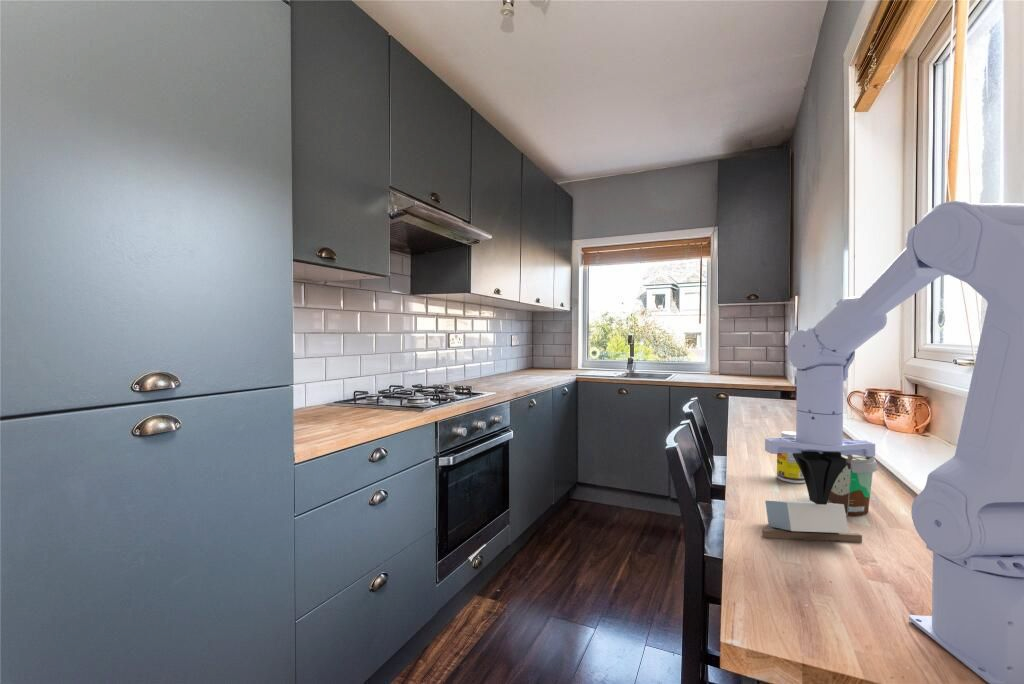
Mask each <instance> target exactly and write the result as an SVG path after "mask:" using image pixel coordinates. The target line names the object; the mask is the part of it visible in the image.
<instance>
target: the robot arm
mask: <svg viewBox="0 0 1024 684" xmlns="http://www.w3.org/2000/svg"><path fill="white" fill-rule="evenodd" d="M943 276H951V277H953V278H955V279H958V280H959V281H962V282H964V283H966V284H968V286H970V287H971V288H972V289H973V290H974V291H975V292H976V293H978V294H979V295H980V296H981V297H982V298H983V299H985V301H986V302H987V306H986V310H985V314H984V315H985V316H984V319H983V325H982V329H981V332H980V333H981V334H980V339H979V343H978V346H977V351H976V352H977V353H976V355H975V356H976V357H975V361H974V366H973V370H972V375H971V379H970V384H969V388H968V393H967V397H966V402H965V407H964V412H963V415H962V416H963V417H962V421H961V424H960V425H961V426H960V430H959V435H958V439H957V444H956V449H955V452H954V453H955V454H954V455H953V456H952V457H951V458H950V459H949V460H947V461H945V462H944V463H942V464H940V465H939V466H938V467H936V468H935V469H933V470H932V471H930V472H929V473H928V474H927V477H926V483H925V486H924V488H923V489H922V490H921V491H920V493H919V494H917V495H916V497H914V500H913V501H912V505H911V512H910V513H911V519H912V523H913V527H914V528H915V530H916V532H917V535H918V536H919V537H920V538H921V540H922V541H923V542H924V543H925V545H926V546H925V548H926V549H927V550H929V551H931V552H932V581H931V582H932V583H931V584H932V586H931V588H932V592H931V593H932V594H931V595H932V596H931V615H920V614H910V615H908V620H909V621H910V622H911V623H913V624H914V625H915V626H916V627H918V628H919V629H920V630H921V631H922V632H924V633H925V634H926V635H927V636H929V637H930V638H931V639H932V640H934V641H935V642H936V643H937V644H939V645H940V646H941V647H942V648H944V649H945V650H946V651H948V653H949V654H951V655H952V656H954V657H955V658H956V659H957V660H959V661H961V662H962V664H964V665H965V666H966V667H968V668H969V670H972V672H974V673H975V674H977V675H978V676H979V677H980V678H981V679H983V680H984V681H985V682H987V683H988V684H1024V203H991V202H990V203H986V202H984V203H983V202H981V203H980V202H966V201H960V200H956V201H955V200H951V201H945V202H941V203H940V204H938V205H936V206H934V207H932V208H931V209H930V210H928V211H927V212H926V213H925V214H923V216H922V218H921V219H920V220H919V222H918V223H917V224H915V225H914V226H912V227H911V228H910V229H909V230H908V231H907V232H906V239H905V248H904V249H903V250H902V251H901V252H900V254H898V255H897V257H896V258H895V259H894V260H893V261H892V262H891V263H890V264H889V265H888V266H887V267H886V268H885V269H884V270H883V272H882V273H881V274H879V276H878V277H877V278H876V279H875V280H874V281H873V282H872V284H870V285H869V287H868V288H867V289H866V290H865V291H864V292H863V293H862V294H861V295H860V296H859V295H852V296H848V297H845V298H840V299H839V300H838V301H837V302H836V304H835V305H836V306H835V307H834V308H833V309H832V310H831V311H830V312H829V313H828V314H826V315H825V316H824V317H823V318H822V319H821V320H819V321H818V322H817V323H816V325H815V326H814V327H812V328H811V327H809V328H807V329H799V330H796V331H794V333H793V335H792V336H791V337H790V339H789V340H788V341H789V342H788V346H787V356H788V359H789V361H790V363H791V365H792V366H793V368H796V403H795V405H796V412H795V413H796V414H795V415H796V416H795V417H796V418H795V419H796V421H795V422H796V424H795V432H796V437H785V438H781V437H765V438H764V451H765V452H767V453H769V454H771V455H777V454H778V453H793V457H794V459H795V460H796V462H797V464H798V466H799V468H800V470H801V472H802V474H803V477H804V480H805V482H804V483H805V485H806V488H807V493H808V498H809V501H810V502H814V503H816V504H823V505H827V503H828V498H829V495H830V492H831V489H832V487H833V485H834V483H835V481H836V479H837V477H838V476H839V474H840V473H841V472H842V470H843V469H844V468H845V467H846V465H847V459H845V458H843V457H841V454H842V455H865V456H873V457H874V458H875V457H876V443H875V442H872V441H868V440H859V439H848V438H847V439H846V438H843V437H844V436H843V434H844V432H843V429H844V424H843V423H844V382H846V381H847V378H849V368H850V367H851V365H852V364H853V362H854V360H855V355H856V350H857V349H859V348H860V347H861V346H862V345H864V343H866V342H867V341H869V340H870V339H871V338H873V337H874V336H875V335H876V334H878V333H879V332H881V331H882V330H883V329H884V328H886V325H887V322H888V317H887V314H888V313H889V312H891V311H892V310H894V309H895V308H896V307H898V306H899V305H901V304H902V303H904V302H905V301H907V300H908V299H909V298H911V297H913V296H914V295H915V294H916V293H918V292H919V291H921V290H922V289H924V288H925V287H926V286H928V285H929V284H931V283H932V282H934V281H936V280H937V279H939V278H940V277H943Z"/></svg>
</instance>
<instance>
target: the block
mask: <svg viewBox="0 0 1024 684" xmlns="http://www.w3.org/2000/svg"><path fill="white" fill-rule="evenodd" d="M764 501H765V509H766V510H765V511H766V516H767V523H768V526H769V527H771V528H775V529H779V530H790V531H805V532H831V533H850V531H849V530H850V529H849V524H848V520H847V515H846V513H845V508H844V504H833V503H830V502H827V505H823V504H816V503H814V502H813V501H794V500H793V501H789V500H786V501H785V500H764Z"/></svg>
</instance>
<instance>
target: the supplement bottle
mask: <svg viewBox="0 0 1024 684" xmlns="http://www.w3.org/2000/svg"><path fill="white" fill-rule="evenodd" d="M785 437H796V431H789V430H788V431H787V430H786V431H785V430H784V431H781V433H780V438H785ZM776 477H777V478H778V479H779V480H780V481H783V482H785V483H791V484H804V483H805V480H804V477H803V474H802V472H801V470H800V468H799V466H798V464H797V462H796V460H795V459H794V457H793V453H778V454H776Z"/></svg>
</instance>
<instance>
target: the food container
mask: <svg viewBox="0 0 1024 684" xmlns="http://www.w3.org/2000/svg"><path fill="white" fill-rule="evenodd" d="M841 457H843V458H845V459H847V465H846V467H845V468H844V469H843V470H842V472H841V473H840V474H839V476H838V477H837V479H836V481H835V483H834V485H833V487H832V489H831V492H830V495H829V498H828V501H827V503H833V504H844V508H845V513H846V517H863V516H866V515H868V513H869V509H870V508H869V507H870V501H871V500H870V499H871V491H872V483H873V473H874V472H877V471H878V470H879V467H878V464H877V460H876V459H875V457H873V456H865V455H842V454H841Z"/></svg>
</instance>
